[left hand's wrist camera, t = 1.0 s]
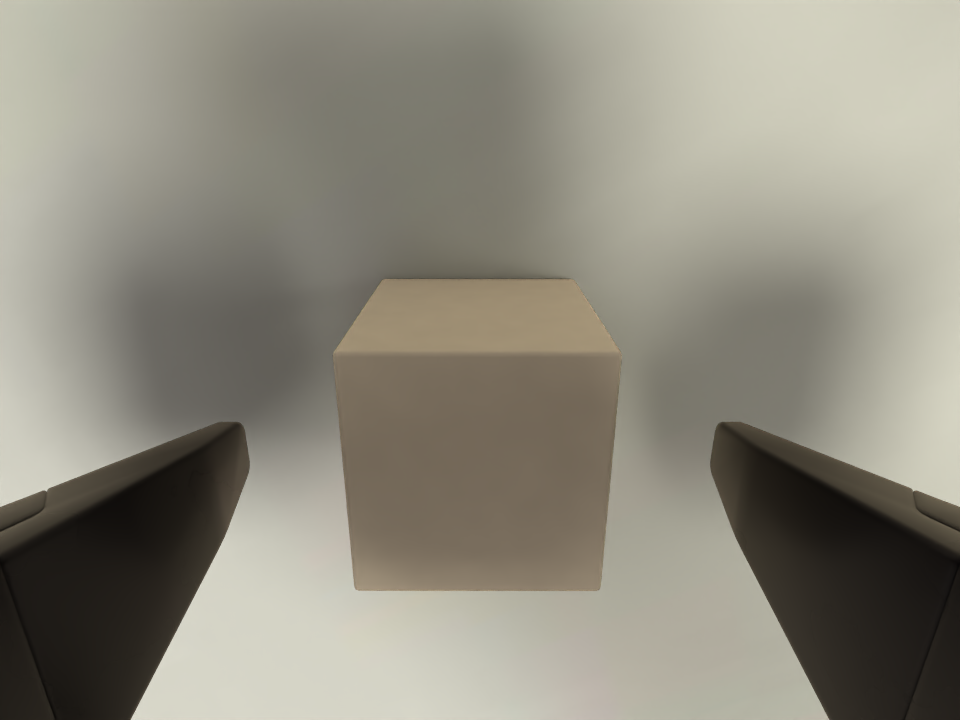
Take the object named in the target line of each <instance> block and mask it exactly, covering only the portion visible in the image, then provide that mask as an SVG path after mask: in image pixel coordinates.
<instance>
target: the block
mask: <svg viewBox="0 0 960 720" xmlns="http://www.w3.org/2000/svg"><path fill="white" fill-rule="evenodd" d="M621 359H622V355H621V352H620V350H619V349H618V347H617V345H616V344H615V342H614V341H613V339H612V338H611V336H610V335H609V333H608V332H607V330H606V328H605V327H604V325H603V324H602V322H601V321H600V319H599V318H598V316H597V314H596V313H595V311H594V310H593V308H592V307H591V305H590V304H589V302H588V301H587V299H586V297H585V296H584V294H583V293H582V291H581V290H580V288H579V287H578V285H577V284H576V282H575V280H572V279H384V280H382V281H381V282H380V284H379V285H378V287H377V288H376V290H375V291H374V293H373V294H372V296H371V297H370V299H369V300H368V302H367V303H366V305H365V306H364V308H363V309H362V311H361V312H360V314H359V315H358V317H357V318H356V320H355V321H354V323H353V324H352V326H351V327H350V329H349V330H348V332H347V333H346V335H345V336H344V338H343V339H342V341H341V342H340V344H339V345H338V346H337V348H336V349H335V351H334V353H333V362H334V373H335V384H336V394H337V405H338V416H339V427H340V437H341V448H342V459H343V470H344V480H345V491H346V502H347V512H348V523H349V534H350V545H351V555H352V566H353V577H354V586H355V589H356V590H359V591H597V590H599V589H600V586H601V577H602V566H603V555H604V544H605V533H606V522H607V511H608V501H609V490H610V479H611V468H612V457H613V446H614V435H615V424H616V414H617V403H618V392H619V381H620V370H621Z"/></svg>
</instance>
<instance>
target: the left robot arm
mask: <svg viewBox="0 0 960 720" xmlns="http://www.w3.org/2000/svg"><path fill="white" fill-rule="evenodd" d="M249 467H250V461H249V454H248V448H247V442H246V435H245V430H244V427H243V425H242V424H241V423H239V422H218V423H215V424H213V425H210V426H208V427H205V428H203V429H200V430H197V431H195V432H192V433H190V434H187V435H185V436H182V437H180V438H177V439H174V440H172V441H169V442H167V443H164V444H162V445H159V446H156V447H154V448H151V449H149V450H146V451H144V452H141V453H139V454H136V455H133V456H131V457H128V458H126V459H123V460H121V461H118V462H115V463H113V464H110V465H108V466H105V467H103V468H100V469H98V470H95V471H92V472H90V473H87V474H85V475H82V476H80V477H77V478H74V479H72V480H69V481H67V482H64V483H62V484H59V485H57V486H54V487H51V488H49V489H48V490H47V492H46V491H41V492H38V493H36V494H33V495H31V496H28V497H26V498H23V499H20V500H18V501H15V502H12V503H10V504H7V505H4V506H2V507H0V720H131V718H132V716H133V714H134V712H135V710H136V708H137V706H138V704H139V702H140V700H141V698H142V697H143V695H144V693H145V691H146V689H147V687H148V685H149V683H150V681H151V679H152V677H153V675H154V673H155V671H156V669H157V668H158V666H159V664H160V662H161V660H162V658H163V656H164V654H165V652H166V650H167V648H168V646H169V644H170V642H171V640H172V638H173V637H174V635H175V633H176V631H177V629H178V627H179V625H180V623H181V621H182V619H183V617H184V615H185V613H186V611H187V609H188V607H189V606H190V604H191V602H192V600H193V598H194V596H195V594H196V592H197V590H198V588H199V586H200V584H201V582H202V580H203V578H204V577H205V575H206V573H207V571H208V569H209V567H210V565H211V563H212V561H213V559H214V557H215V555H216V553H217V551H218V549H219V547H220V545H221V543H222V541H223V539H224V537H225V534H226V532H227V530H228V527H229V524H230V522H231V519H232V516H233V514H234V511H235V508H236V506H237V503H238V500H239V497H240V495H241V492H242V489H243V487H244V484H245V481H246V479H247V476H248V473H249ZM710 467H711V473H712V476H713V479H714V481H715V484H716V487H717V489H718V492H719V495H720V497H721V500H722V503H723V506H724V508H725V511H726V514H727V516H728V519H729V522H730V524H731V527H732V530H733V532H734V534H735V537H736V539H737V541H738V543H739V545H740V547H741V549H742V551H743V553H744V555H745V557H746V559H747V561H748V563H749V565H750V567H751V569H752V571H753V573H754V575H755V577H756V578H757V580H758V582H759V584H760V586H761V588H762V590H763V592H764V594H765V596H766V598H767V600H768V602H769V604H770V606H771V607H772V609H773V611H774V613H775V615H776V617H777V619H778V621H779V623H780V625H781V627H782V629H783V631H784V633H785V635H786V637H787V638H788V640H789V642H790V644H791V646H792V648H793V650H794V652H795V654H796V656H797V658H798V660H799V662H800V664H801V666H802V668H803V669H804V671H805V673H806V675H807V677H808V679H809V681H810V683H811V685H812V687H813V689H814V691H815V693H816V695H817V697H818V699H819V700H820V702H821V704H822V706H823V708H824V710H825V712H826V714H827V716H828V718H829V720H960V507H958V506H956V505H953V504H950V503H948V502H945V501H942V500H940V499H937V498H934V497H932V496H929V495H927V494H924V493H922V492H919V491H914V492H913V490H912V489H911V488H909V487H906V486H903V485H901V484H898V483H896V482H893V481H891V480H888V479H886V478H883V477H880V476H878V475H875V474H873V473H870V472H868V471H865V470H862V469H860V468H857V467H855V466H852V465H850V464H847V463H845V462H842V461H839V460H837V459H834V458H832V457H829V456H827V455H824V454H821V453H819V452H816V451H814V450H811V449H809V448H806V447H804V446H801V445H798V444H796V443H793V442H791V441H788V440H786V439H783V438H780V437H778V436H775V435H773V434H770V433H768V432H765V431H763V430H760V429H757V428H755V427H752V426H750V425H747V424H745V423H742V422H721V423H719V424H718V425H717V427H716V430H715V435H714V442H713V448H712V454H711V461H710Z"/></svg>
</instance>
